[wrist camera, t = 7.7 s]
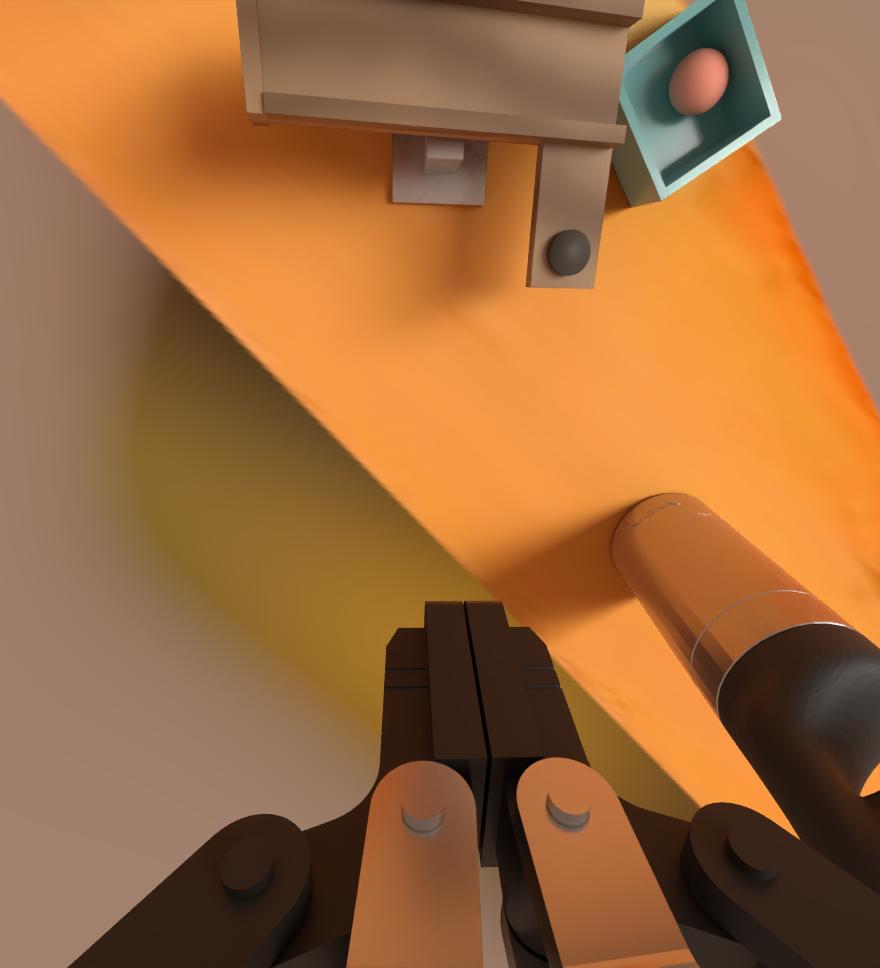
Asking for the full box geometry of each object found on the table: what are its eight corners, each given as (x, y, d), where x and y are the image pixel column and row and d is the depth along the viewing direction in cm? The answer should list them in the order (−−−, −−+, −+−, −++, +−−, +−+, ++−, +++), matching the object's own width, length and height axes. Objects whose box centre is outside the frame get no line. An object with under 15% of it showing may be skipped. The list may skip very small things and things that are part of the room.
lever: (581, 287, 33) (603, 290, 30) (267, 280, 29) (262, 282, 26) (615, 20, 28) (645, -4, 25) (238, -33, 24) (229, -67, 21)
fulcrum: (483, 206, 35) (504, 190, 27) (392, 202, 35) (388, 186, 27) (494, -6, 31) (524, -97, 23) (391, -13, 30) (386, -107, 23)
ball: (659, 127, 33) (713, 130, 32) (676, 80, 30) (736, 83, 29) (664, 82, 33) (718, 84, 33) (681, 32, 30) (741, 33, 30)
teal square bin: (736, 136, 34) (782, 118, 30) (631, 207, 36) (661, 200, 31) (691, 10, 32) (736, -28, 27) (580, 93, 33) (605, 68, 29)
